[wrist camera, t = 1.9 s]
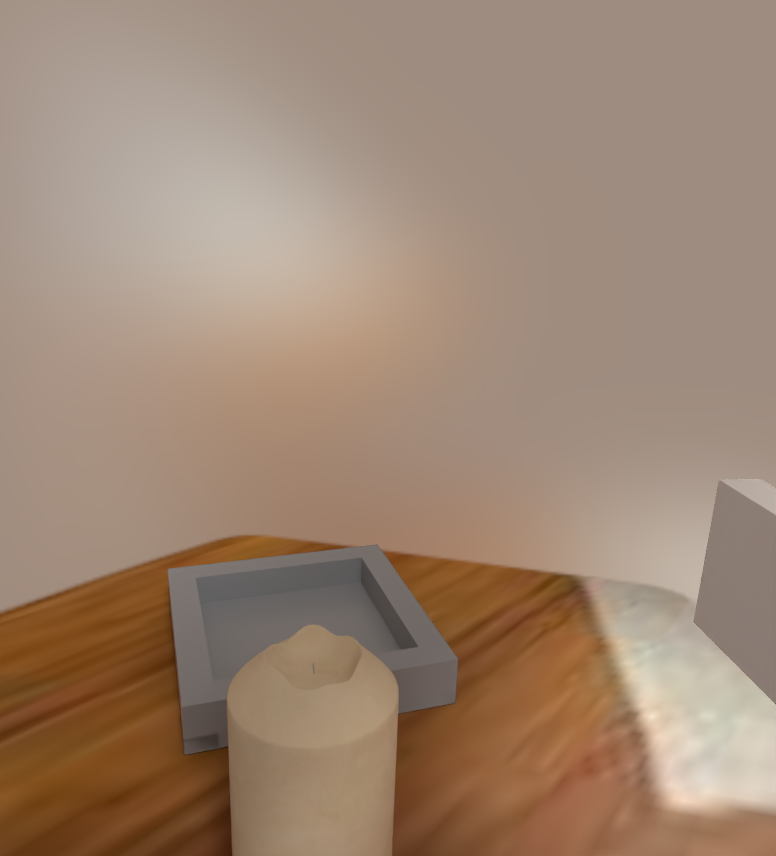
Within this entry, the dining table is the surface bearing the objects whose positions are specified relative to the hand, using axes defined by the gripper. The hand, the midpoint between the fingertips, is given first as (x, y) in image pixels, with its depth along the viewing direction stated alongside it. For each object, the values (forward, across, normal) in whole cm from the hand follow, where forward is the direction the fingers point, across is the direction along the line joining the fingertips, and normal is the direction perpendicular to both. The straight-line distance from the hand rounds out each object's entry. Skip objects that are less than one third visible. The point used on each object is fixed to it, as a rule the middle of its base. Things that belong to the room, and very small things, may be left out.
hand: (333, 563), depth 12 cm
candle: (+10, 0, -18) cm, 21 cm away
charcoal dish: (+25, 0, -18) cm, 31 cm away
